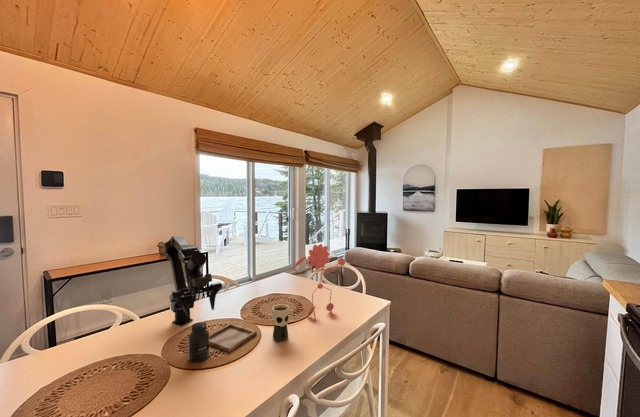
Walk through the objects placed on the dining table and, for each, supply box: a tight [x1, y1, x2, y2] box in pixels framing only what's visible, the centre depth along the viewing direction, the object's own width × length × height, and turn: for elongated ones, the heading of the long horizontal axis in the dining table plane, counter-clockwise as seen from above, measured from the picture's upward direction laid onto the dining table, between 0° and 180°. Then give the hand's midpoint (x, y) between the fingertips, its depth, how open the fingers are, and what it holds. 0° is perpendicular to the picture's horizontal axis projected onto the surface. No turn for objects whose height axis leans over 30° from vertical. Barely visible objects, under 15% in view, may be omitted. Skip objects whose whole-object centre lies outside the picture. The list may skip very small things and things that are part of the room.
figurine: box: [294, 243, 346, 321], centre depth 139 cm, size 15×26×35 cm, turn 116°
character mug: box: [267, 304, 294, 342], centre depth 114 cm, size 11×7×13 cm, turn 118°
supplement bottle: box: [188, 321, 210, 363], centre depth 100 cm, size 7×7×12 cm
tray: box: [209, 322, 257, 353], centre depth 114 cm, size 15×15×2 cm
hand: (201, 313), depth 108 cm, fingers open, 9 cm apart
